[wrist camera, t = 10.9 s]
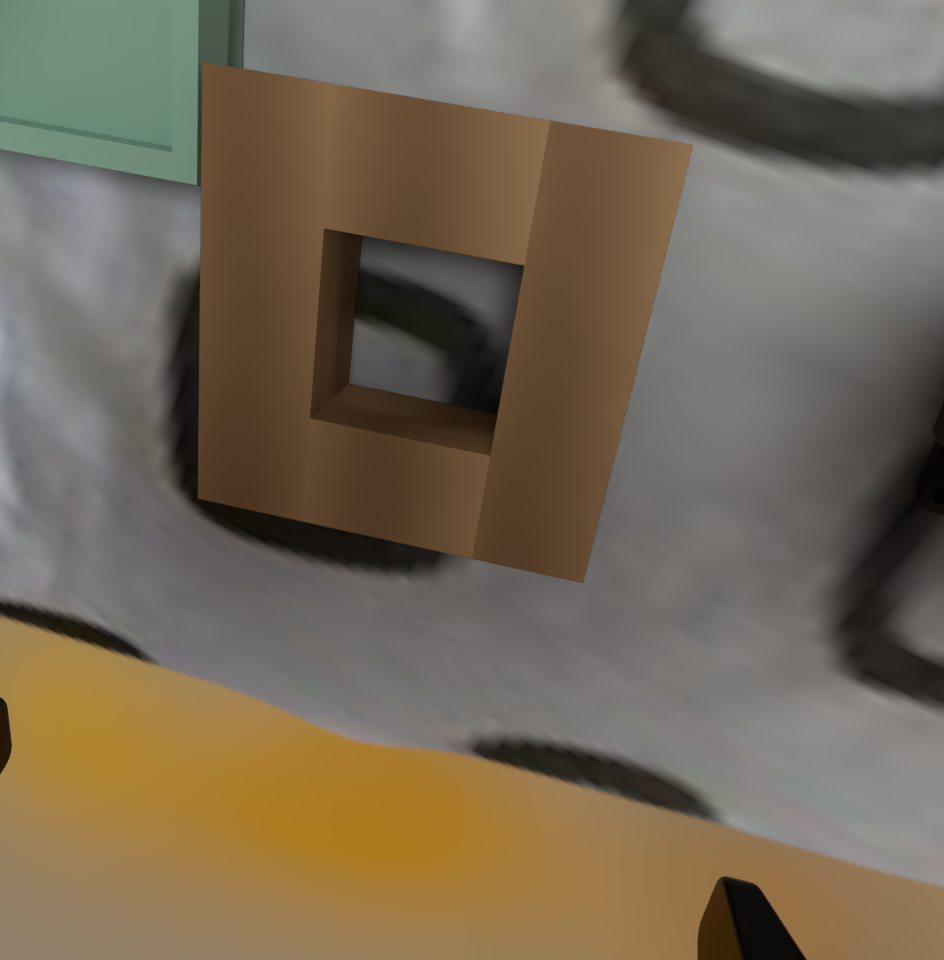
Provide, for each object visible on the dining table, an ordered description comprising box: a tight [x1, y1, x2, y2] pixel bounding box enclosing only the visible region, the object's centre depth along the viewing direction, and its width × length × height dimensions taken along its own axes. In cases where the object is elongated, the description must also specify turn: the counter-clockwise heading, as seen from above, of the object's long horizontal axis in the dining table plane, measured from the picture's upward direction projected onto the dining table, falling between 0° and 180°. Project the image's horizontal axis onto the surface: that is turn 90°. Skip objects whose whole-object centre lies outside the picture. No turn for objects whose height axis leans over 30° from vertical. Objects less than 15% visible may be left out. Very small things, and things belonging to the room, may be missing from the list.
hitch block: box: [198, 62, 693, 583], centre depth 19 cm, size 10×10×3 cm
